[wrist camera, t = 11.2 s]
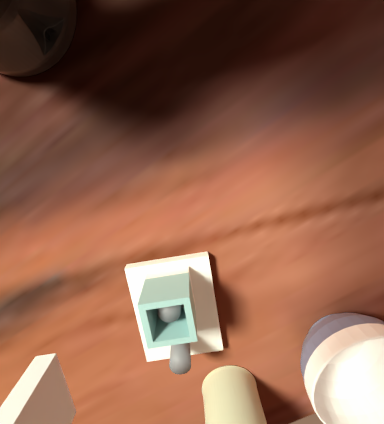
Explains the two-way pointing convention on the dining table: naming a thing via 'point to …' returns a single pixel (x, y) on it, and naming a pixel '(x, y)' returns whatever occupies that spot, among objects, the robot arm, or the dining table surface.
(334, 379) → the bowl
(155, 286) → the sleeve
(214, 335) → the pinboard
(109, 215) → the dining table surface
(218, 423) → the can
